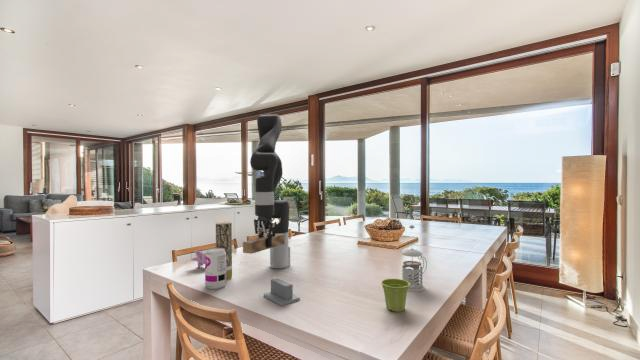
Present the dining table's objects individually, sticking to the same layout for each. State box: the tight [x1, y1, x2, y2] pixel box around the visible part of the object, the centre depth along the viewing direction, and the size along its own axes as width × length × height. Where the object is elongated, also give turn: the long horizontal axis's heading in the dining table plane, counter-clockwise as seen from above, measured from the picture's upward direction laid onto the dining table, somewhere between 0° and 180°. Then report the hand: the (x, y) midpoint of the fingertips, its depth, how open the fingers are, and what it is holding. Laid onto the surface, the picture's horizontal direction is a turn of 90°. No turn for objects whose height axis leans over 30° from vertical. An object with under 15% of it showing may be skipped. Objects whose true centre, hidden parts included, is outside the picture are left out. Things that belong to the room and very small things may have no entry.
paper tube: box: [215, 220, 233, 281], centre depth 142 cm, size 7×7×25 cm
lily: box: [190, 249, 206, 272], centre depth 157 cm, size 12×12×10 cm
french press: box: [401, 224, 428, 292], centre depth 128 cm, size 10×12×25 cm
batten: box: [242, 234, 285, 255], centre depth 126 cm, size 20×4×4 cm, turn 149°
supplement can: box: [204, 247, 227, 290], centre depth 131 cm, size 8×8×15 cm
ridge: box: [263, 277, 301, 307], centre depth 117 cm, size 8×12×6 cm, turn 40°
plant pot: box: [380, 278, 410, 312], centre depth 108 cm, size 9×9×9 cm
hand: (264, 246), depth 126 cm, fingers closed on batten, 5 cm apart
